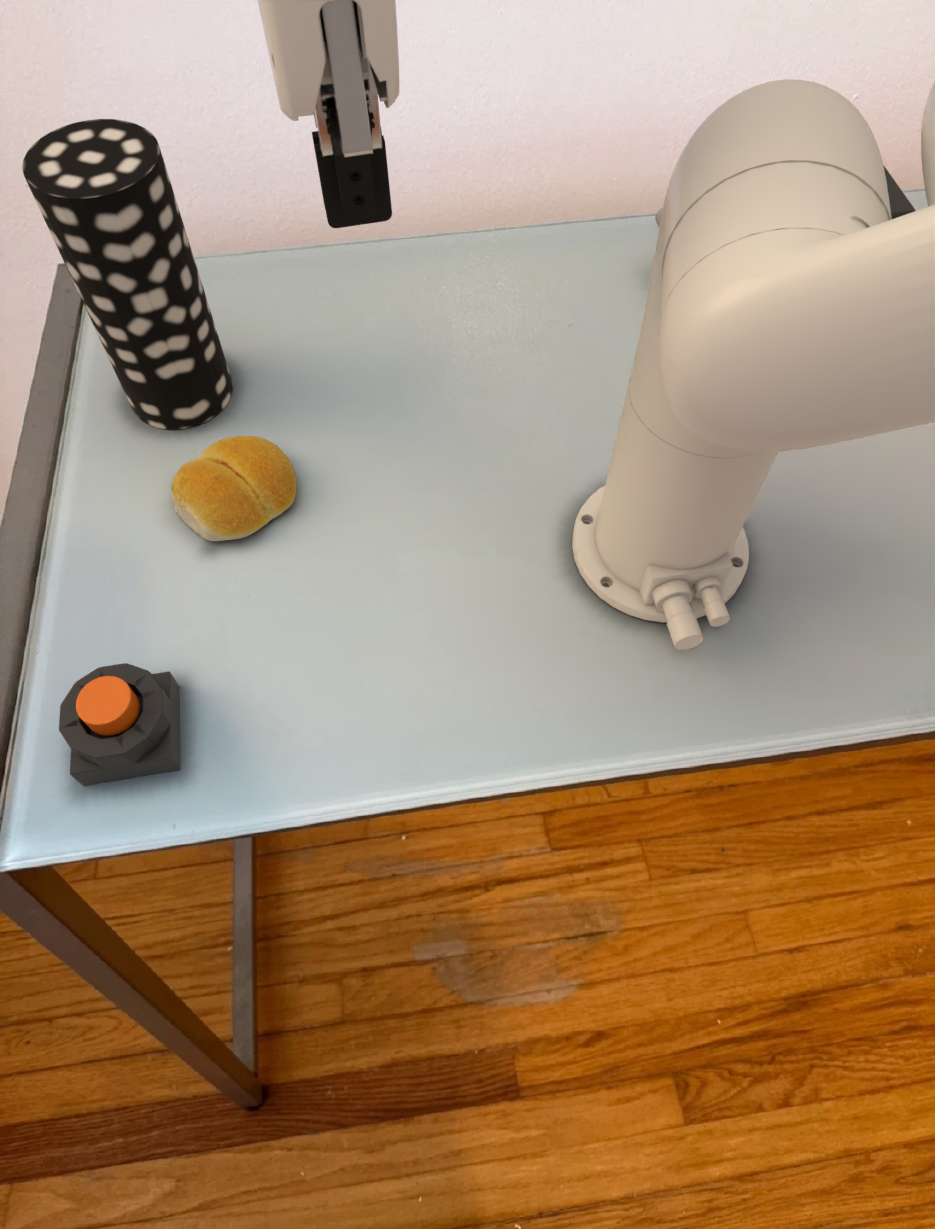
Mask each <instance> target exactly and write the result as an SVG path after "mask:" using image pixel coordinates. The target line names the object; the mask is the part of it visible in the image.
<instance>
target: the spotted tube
mask: <svg viewBox="0 0 935 1229" xmlns="http://www.w3.org/2000/svg"><path fill="white" fill-rule="evenodd" d="M21 168H22V173H23V177H24V179H25V181H26V183H27V185H28V187H29V190H30V192H31V194H32V196H33V199H34V200H35V203H36V205H37V206H38V209H39V211H40V213H41V216H42V218H43V220H44V222H45V224H46V226H47V228H48V230H49V233H50V235H51V237H52V240H53V241H54V243H55V246H56V248H57V250H58V252H59V254H60V256H61V258H62V261H63V263H64V265H65V267H66V270H67V272H68V274H69V276H70V278H71V280H72V283H73V284H74V287H75V289H76V291H77V293H78V295H79V297H80V300H81V302H82V304H83V306H84V308H85V311H86V312H87V315H88V316H89V319H90V322H91V323H92V325H93V328H94V330H95V332H96V334H97V337H98V339H99V340H100V343H101V345H102V347H103V349H104V352H105V353H106V356H107V358H108V360H109V362H110V365H111V367H112V369H113V371H114V373H115V375H116V377H117V380H118V382H119V383H120V386H121V388H122V390H123V393H124V394H125V396H126V399H127V402H128V403H129V405H130V407H131V409H132V411H133V413H134V414H135V415H136V416H137V418H139V420H141V421H142V422H143V423H145V424H147V425H149V426H151V427H154V428H158V429H163V430H173V431H174V430H186V429H190V428H194V427H197V426H200V425H202V424H205V423H207V422H208V421H210V420H212V419H214V418H216V416H218V415H219V414H220V413H221V412H222V411H223V410H224V409H225V408H226V406H227V405H228V404H229V401H230V399H231V398H232V395H233V390H234V385H233V378H232V376H231V373H230V372H231V371H230V368H229V366H228V363H227V359H226V356H225V353H224V350H223V346H222V344H221V340H220V337H219V334H218V330H217V327H216V324H215V321H214V317H213V314H212V311H211V308H210V304H209V302H208V299H207V295H206V292H205V289H204V285H203V282H202V279H201V276H200V273H199V269H198V267H197V263H196V259H195V257H194V253H193V250H192V247H191V244H190V240H189V238H188V234H187V230H186V228H185V224H184V220H183V218H182V214H181V212H180V209H179V205H178V202H177V198H176V196H175V192H174V188H173V185H172V182H171V178H170V176H169V172H168V170H167V166H166V163H165V160H164V157H163V153H162V150H161V147H160V144H159V142H158V139H157V138H156V136H155V135H154V134H153V133H152V132H151V131H150V130H148V129H147V128H146V127H144V126H142V125H139V124H137V123H135V122H130V121H128V120H123V119H122V120H121V119H115V118H96V119H87V120H81V121H77V122H76V121H75V122H72V123H69V124H66V125H62V126H61V127H59V128H56V129H54V130H52V131H50V132H48V133H46V134H44V136H41V137H40V138H39V139H38V140H37V141H36V142H34V143H33V144H31V146H30V148H29V149H28V150H27V151H26V153H25V156H24V157H23V160H22V166H21Z"/></svg>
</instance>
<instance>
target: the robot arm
mask: <svg viewBox="0 0 935 1229" xmlns="http://www.w3.org/2000/svg"><path fill="white" fill-rule="evenodd" d="M257 3H258V8H259V13H260V18H261V24H262V29H263V33H264V37H265V43H266V48H267V53H268V57H269V62H270V67H271V71H272V76H273V81H274V86H275V90H276V94H277V101H278V105H279V108H280V111H281V112H282V113H283V114H284V115H285V117H286V118H288V119H289V120H291V121H293V122H297V121H299V117H310V116H313V118H314V124H315V128H316V129H317V131H316V130H315V131H311V136H312V143H313V147H314V148H313V149H314V154H315V160H316V165H317V172H318V178H319V183H320V188H321V194H322V200H323V206H324V211H325V215H326V219H327V223H328V225H329V227H331V228H333V229H341V228H349V227H355V226H362V225H370V224H375V223H376V224H377V223H382V222H383V223H384V222H387V221H389V220H390V219H391V218H392V216H393V207H392V198H391V188H390V177H389V169H388V168H389V167H388V157H387V146H386V139H385V137H384V135H383V132H382V126H381V118H380V117H381V116H380V106H379V105H380V104H379V102H380V103H382V102H383V104H384V105H385V108H386V109H389V108H390V107H392V105H393V104H394V103H395V102H396V101H397V99H398V97H399V96H400V58H399V38H398V37H399V36H398V22H397V21H398V20H397V19H398V18H397V5H396V4H397V3H396V0H257ZM920 125H921V128H920V158H921V169H922V171H921V172H922V177H923V178H922V179H923V184H924V192H925V198H926V204H927V206H926V207H923V208H920V209H918V210H916V211H914V212H912V213H909V214H906V215H903V216H900V217H897V218H895V219H892V217H891V210H890V202H889V195H888V190H887V181H886V176H885V171H884V166H885V165H884V162H883V158H882V157H883V156H882V154H881V151H880V148H879V145H878V143H877V140H876V137H875V135H874V132H873V130H872V129H871V126H870V125H869V123H868V122H867V120H866V119H865V118H864V116H863V115H862V113H861V111H859V109H858V108H857V107H856V105H854V104H853V103H852V102H851V101H850V100H849V99H847V98H846V97H845V96H844V95H842V94H841V93H839V92H838V91H836V90H834V89H832V88H830V87H829V86H827V85H825V84H821V83H818V82H815V81H811V80H802V79H790V78H789V79H779V80H771V81H770V80H769V81H767V82H764V83H759V84H756V85H754V86H751V87H749V88H747V89H745V90H742V91H741V92H739V93H737V94H735V95H733V96H731V97H730V98H729V99H727V100H726V101H725V102H724V103H722V104H720V105H719V106H718V107H716V108H715V110H714V111H713V112H712V113H710V114H709V115H708V116H707V117H706V118H705V119H704V121H703V122H702V123H701V124H699V126H698V127H697V128H696V130H695V131H694V133H693V134H692V135H691V137H690V138H689V139H688V141H687V143H686V145H685V146H684V148H683V150H682V151H681V153H680V155H679V157H678V160H677V161H676V164H675V166H674V168H673V171H672V173H671V176H670V179H669V182H668V185H667V189H666V192H665V197H664V201H663V205H662V208H663V210H662V215H661V221H660V226H659V227H658V233H657V239H656V246H655V253H654V257H653V263H652V268H651V273H650V274H651V276H650V280H649V285H648V290H647V291H648V292H647V297H646V303H645V306H644V307H645V308H644V312H643V317H642V321H641V322H642V323H641V328H640V332H639V336H638V341H637V346H636V349H635V350H636V351H635V355H634V358H633V364H632V368H631V373H630V376H629V379H628V384H627V388H626V391H625V396H624V400H623V406H622V409H621V414H620V418H619V423H618V427H617V432H616V435H615V436H616V437H615V441H614V446H613V451H612V454H611V459H610V462H609V466H608V471H607V477H606V481H605V485H603V486H601V487H599V488H598V489H597V490H595V491H594V492H593V493H592V494H591V495H590V496H589V497H588V498H587V499H586V501H585V502H583V505H582V506H581V507H580V509H579V511H578V513H577V516H576V518H575V522H574V525H573V526H574V527H573V530H572V541H571V542H572V543H571V549H572V555H573V560H574V562H575V564H576V567H577V570H578V573H579V574H580V576H581V577H582V579H583V580H584V582H585V583H586V585H587V586H588V587H589V589H591V590H592V591H593V593H594V594H596V595H597V597H599V599H601V600H602V601H604V602H605V603H606V604H608V605H609V606H610V607H612V608H614V609H616V610H618V611H619V612H622V613H624V614H626V615H628V616H631V617H635V618H637V619H641V620H644V621H648V622H649V621H650V622H656V623H666V626H667V629H668V632H669V635H670V638H671V641H672V644H673V646H674V648H675V649H676V650H678V651H687V650H690V649H694V648H696V647H698V646H699V645H701V644H702V642H704V636H703V633H702V630H701V628H700V625H699V622H698V619H700V618H703V617H704V616H706V618H707V621H708V624H709V626H710V627H712V628H714V627H717V628H718V627H721V626H723V625H726V624H728V623H729V622H730V621H731V616H730V614H729V611H728V609H727V606H726V603H728V601H730V599H731V598H733V596H735V594H736V592H737V590H738V589H739V587H740V585H741V584H742V582H743V579H744V577H745V575H746V573H747V571H748V566H749V560H750V547H749V540H748V537H747V533H746V531H745V528H744V526H745V524H746V521H747V519H748V517H749V515H750V513H751V510H752V508H753V506H754V505H755V502H756V500H757V498H758V495H759V494H760V492H761V489H762V487H763V485H764V483H765V481H766V479H767V477H768V475H769V473H770V471H771V468H772V466H773V464H774V462H775V460H776V457H777V456H778V453H779V452H789V451H799V450H804V449H811V448H817V447H818V448H819V447H823V446H824V447H825V446H828V445H832V444H839V443H843V442H848V441H853V440H859V439H863V438H867V437H872V436H877V435H881V434H886V433H891V432H895V431H896V432H897V431H900V430H901V431H902V430H906V429H909V428H915V427H918V426H919V427H920V426H924V425H929V424H934V423H935V80H934V81H933V83H932V86H931V88H930V90H929V93H928V96H927V99H926V101H925V105H924V108H923V113H922V118H921V124H920ZM883 165H884V166H883Z"/></svg>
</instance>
